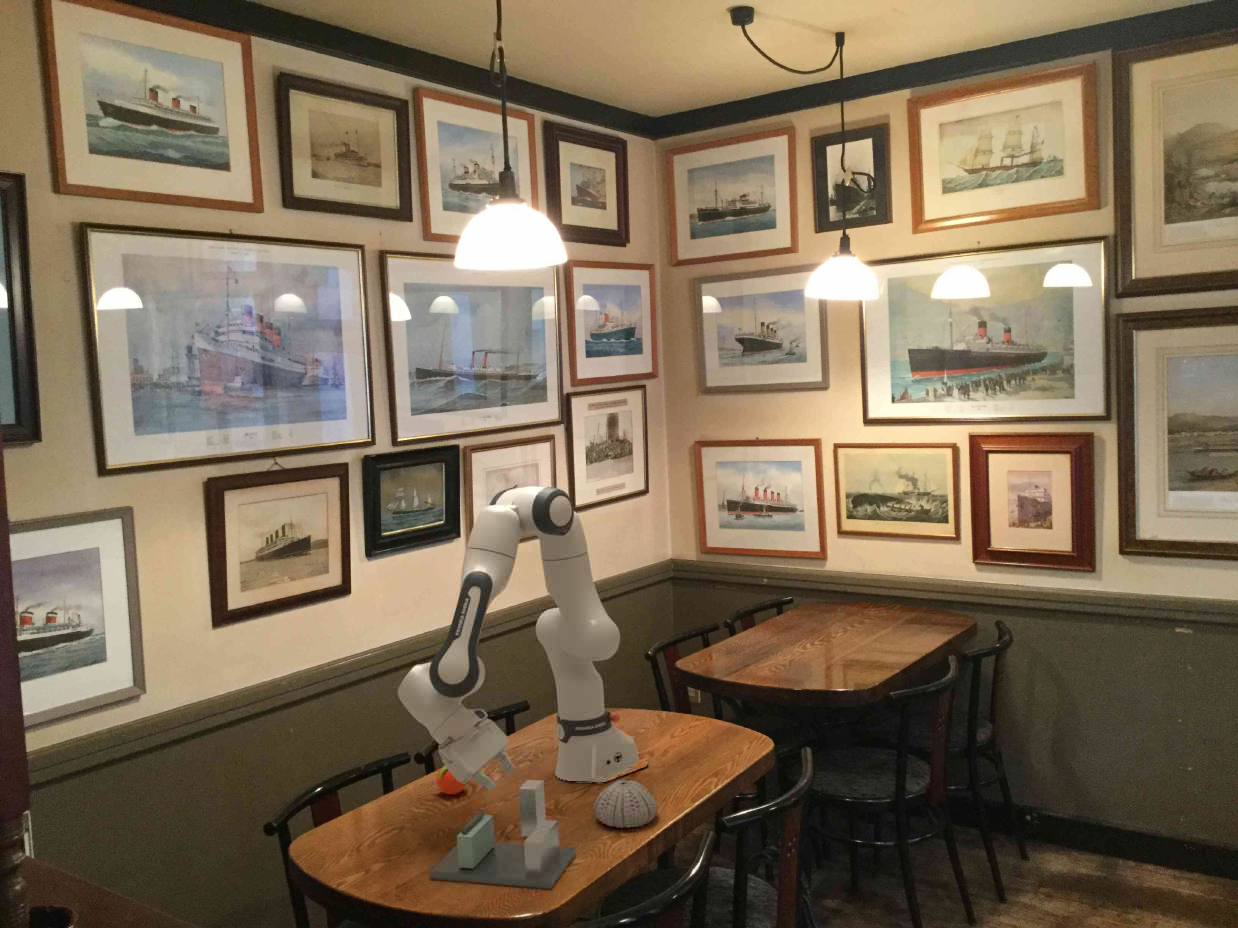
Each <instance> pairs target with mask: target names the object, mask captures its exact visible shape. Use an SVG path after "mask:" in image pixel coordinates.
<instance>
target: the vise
mask: <svg viewBox="0 0 1238 928" xmlns="http://www.w3.org/2000/svg"><path fill="white" fill-rule="evenodd" d="M559 836H560V835H559V823H558V820H551V819H550V820H549V819H546V820H543V821H542V822H541V823H540V824H539V825H538V826H537V827H536V829H535V830H534V831H533V832H532V833H531V834H530V836H529V837H526V839H525V840H524V841H523V843H517V842H516V843H513V842H501V841H499V842H498V841H494V842H495V846H494V847H493V848H492V849H491V850H490V851H489V852H488V853H487V854H486V856H485V857H484V858H483V859H482V860H481V861H480V862H479V863H478V864H477V865H476V866H475V867H474V869H473V868H460V867H459V862H458V847H457V844H456V845H455V846H454V847H453V848H451V850H450V851H449V852H448V853H446V855H445V856H443V858H441V860H440V861H439V862H438V863H437V864H435V865H434V867H433V868H432V869H430V871H429V875H430V876H429V877H430V878H429V879H430V880H435V881H436V880H437V881H449V882H461V883H470V884H471V883H474V884H483V885H495V886H496V885H497V886H506V887H507V886H508V887H518V888H520V887H521V888H531V889H542V890H544V889H545V890H552V888H553V887H554V886H555V884H556V883H557V881H558V880H559V879H560V878H561V876H562V874H563V873H564V872H565V870H566V869H567V868H568V866H569V865H570V864H571V862H572V861H573V859H574V858H575V857H574V856H576V847H570V846H560V839H559Z"/></svg>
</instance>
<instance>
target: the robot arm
mask: <svg viewBox="0 0 1238 928" xmlns="http://www.w3.org/2000/svg"><path fill="white" fill-rule="evenodd" d="M535 535H536V536H537V538H538V541H539V547H540V548H539V549H540V556H541V564H542V568H543V569H542V570H543V575H544V582H545V589H546V590H547V593H548V595H549V596H550V597H551V598H552V599H553V601H554V602H555V604H556V606H557V607H554V608H553V607H552V608H549V609H546V610H545V611H544V612H542V613H540V616H539V617H538V619H537V621H536V624H535V636H536V638H537V640H538V642H539V643H540V644H541V645H542V647H543V649H544V650H545V652H546V655H547V658H548V660H549V664H550V668H551V670H552V673H553V676H554V681H555V688H556V697H557V711H558V712H557V715H556V725H557V726H556V734H557V737H558V738H557V739H558V753H557V754H558V755H557V761H556V762H557V763H556V766H555V772H554V774H555V777H556V776H557V779H559V778H560V779H559V780H562V779H563V780H562V781H565V780H568V781H567V782H569V781H595V782H602V781H605V780H608V779H610V778H612V777H615V776H617V775H619V774H621V773H623V772H625V771H627V770H629V769H632V768H629V767H633V764H636V763H637V762H639V757H638V753H639V752H638V747H637V744H636V742H635V739H633V737H632V736H630V735H629V734H628V733H626V732H624V731H622V730H621V729H619V727H616V726H615V725H613V723H618V722H619V721H620V720H621V719H620V717H621V716H620V715H619V714H618V713H616V712H610V711H608V710H605V699H604V698H605V695H604V682H603V678H602V676H601V675H600V674H599V672H598V671H597V669H596V667H595V665H594V664H593V662H598V661H599V662H600V661H606V660H608V659H610V658H612V657H613V656H614V655H615V654H616V653H617V651H618V648H619V646H620V642H621V641H620V640H621V634H620V629H619V627H618V626H617V624H616V623H615V622H614V621H613V620H612V618H611V617H610V616H609V615H608V613H607V611H606V610H605V607H604V605H603V604H602V601H601V599H600V597H599V594H598V592H597V590H596V585H595V583H594V579H593V573H592V568H591V562H590V557H589V556H590V555H589V549H588V544H587V540H586V539H587V538H586V534H585V532H584V528H583V525H582V521H581V519H580V517H579V514H578V513H577V512H576V511H575V508H574V504H573V501H572V499H571V497H570V496H569V494H568V493H567V492H566V491H564V490H562V489H560V488H557V487H553V486H547V487H545V486H537V485H536V486H535V485H533V486H532V485H531V486H525V487H516V488H515V487H510V488H506V489H503V490H501V491H498V493H496V494H495V495H494V497H492V499H491V501H490V503H489V505H487V506H485V507H484V508H482V509H481V510H480V512H479V514H478V516H477V517H476V519H475V522H474V524H473V527H472V529H471V531H470V535H469V538H468V540H467V545H466V549H465V552H464V555H463V556H464V557H463V563H462V567H461V568H462V569H461V574H460V575H461V577H460V584H459V585H460V587H459V588H460V589H459V595H458V600H457V602H456V608H455V611H454V615H453V617H452V621H451V624H450V627H449V631H448V634H447V637H446V640H445V642H444V643H443V645H442V646H441V648H440V649H439V650H438V651H437V652H436V654H435V655H434V657H433V659H432V660H431V661H430V662H427V663H421V664H415V665H413V666H412V667H411V668H410V669H409V670H408V671H407V672H406V673H405V674H404V676H403V677H402V679H401V680H400V682H399V684H398V687H397V696H398V698H399V700H400V701H401V703H402V705H403V706H404V707H405V709H406V710H407V711H408V712H409V713H410V715H412V716H413V718H414V719H415V720H416V721H417V722H418V723H420V724H422V725H423V726H425V728H426V729H427V730H428V732H429V734H430V736H431V737H432V738H433V739H434V740H435V741H436V742H437V743H438V744H439V745H438V754H439V756H440V757H441V760H442V763H443V765H444V766H446V767H447V768H448V770H449V771H450V772H451V774H452V775H453V776H454V777H455V778H456V780H457V781H458V782H460V783H463V784H465V783H466V782H467V783H468V782H469V781H470V780H473V781H474V782H475V783H477V784H479V785H481V786H484V787H485V788H486V790H488V792H493V790H494V789H495V788H496V787H497V786H498V782H497V781H496V780H495V779H494V778H493V777H491V778H490V777H489V776H488V775H486V774H485V771H483V769H484V768H485V767H487V765H489V764H490V763H491V762H492V761H493V760H496V761H497V762H498V763H499V762H500V764H501V766H502V767H503V768H502V770H503V772H505V774H506V775H510V774H512V773H513V772H514V770H515V769H516V766H515V764H513V762H511V759H510V757H509V755H508V753H507V752H506V751H505V750H506V748H507V747H508V746H509V745H510V741H509V738H508V736H507V735H506V734H505V733H504V731H503V730H502V729H501V728H500V727H499V726H498V725H497V724H496V723H495V722H494V721H493V720H492V719H489V718H488V713H487V712H486V711H485V710H484V709H482V708H478V709H477V708H476V709H469V708H466V707H465V706H464V704H462V701H463V700H464V699H466V698H468V697H469V696H470V695H472V694H474V693H475V692H477V691H478V690H479V689H480V688H481V686H482V684H483V683H484V681H485V677H486V667H485V664H484V662H483V660H482V659H481V657H480V656H479V655H478V652H477V651H478V644H479V641H480V636H481V632H482V630H483V626H484V625H483V624H484V621H485V617H486V614H487V611H488V609H489V608H490V605H491V604H492V602H493V601H494V599H496V597H498V596H500V594H501V593H502V592H503V591H505V589H506V587H507V585H508V583H509V581H510V578H511V575H512V574H513V571H514V568H515V567H514V566H515V563H516V559H517V555H518V549H519V548H518V547H519V543H520V540H521V539H522V538H523V537H524V536H535ZM612 722H613V723H612ZM634 766H637V765H634ZM627 767H628V768H627ZM467 783H466V784H467Z"/></svg>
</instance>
